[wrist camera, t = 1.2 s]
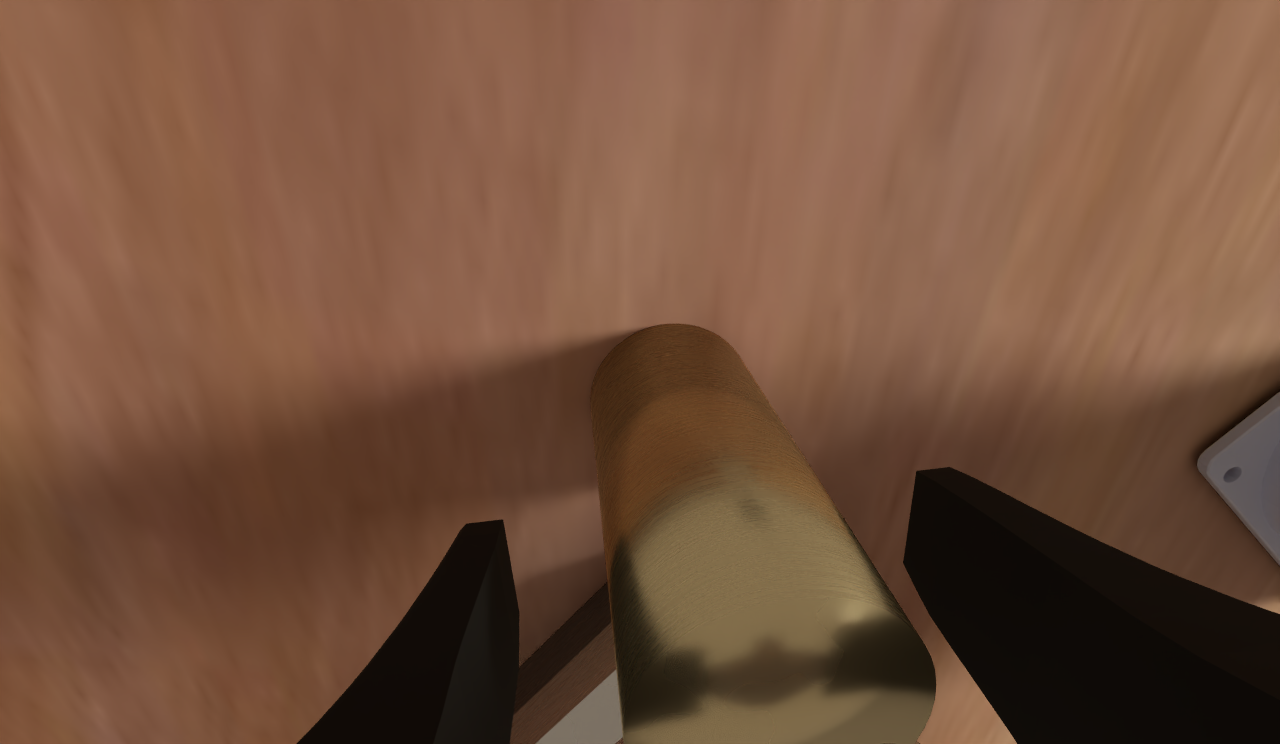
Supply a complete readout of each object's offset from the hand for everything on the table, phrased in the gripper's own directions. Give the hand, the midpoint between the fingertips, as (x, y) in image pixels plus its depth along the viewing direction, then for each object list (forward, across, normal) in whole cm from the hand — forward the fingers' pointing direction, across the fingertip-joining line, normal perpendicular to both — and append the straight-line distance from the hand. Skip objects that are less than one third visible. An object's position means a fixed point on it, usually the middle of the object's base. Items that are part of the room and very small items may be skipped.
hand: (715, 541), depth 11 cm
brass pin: (+6, 0, 0) cm, 6 cm away
